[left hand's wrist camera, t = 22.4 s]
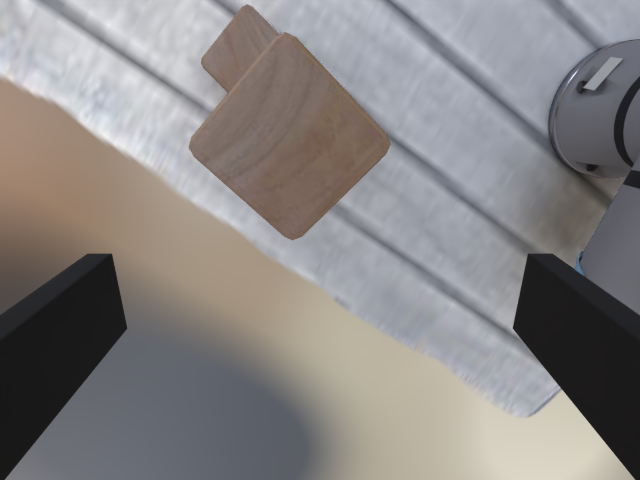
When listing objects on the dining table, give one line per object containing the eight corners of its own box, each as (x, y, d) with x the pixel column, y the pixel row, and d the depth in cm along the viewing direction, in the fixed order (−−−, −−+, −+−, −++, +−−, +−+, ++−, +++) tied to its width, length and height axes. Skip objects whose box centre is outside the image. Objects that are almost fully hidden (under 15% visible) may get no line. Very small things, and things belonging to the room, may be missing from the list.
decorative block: (256, 13, 43) (139, -131, 15) (351, 112, 47) (398, 146, 19) (213, 66, 45) (39, 26, 17) (308, 158, 49) (292, 249, 21)
